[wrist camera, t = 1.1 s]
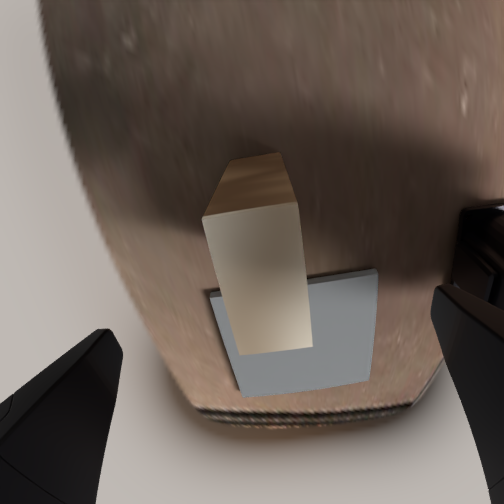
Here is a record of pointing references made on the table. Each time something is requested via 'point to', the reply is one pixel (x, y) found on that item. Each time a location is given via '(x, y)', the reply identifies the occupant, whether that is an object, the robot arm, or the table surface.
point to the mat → (314, 340)
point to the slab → (260, 255)
